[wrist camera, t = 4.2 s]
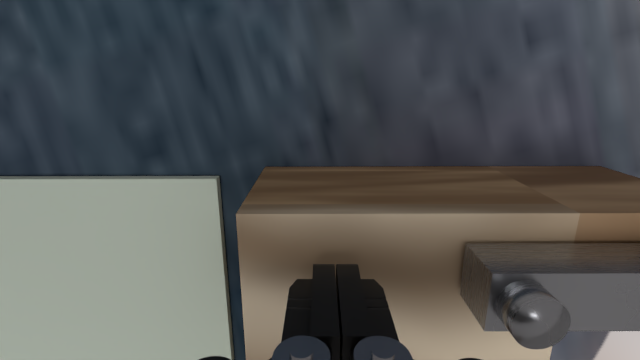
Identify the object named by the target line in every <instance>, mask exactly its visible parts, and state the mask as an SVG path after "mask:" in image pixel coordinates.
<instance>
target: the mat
mask: <svg viewBox="0 0 640 360" xmlns="http://www.w3.org/2000/svg"><path fill="white" fill-rule="evenodd" d="M209 356H222V357H226V358H229V359H230V360H234V349H233V337H232V325H231V312H230V300H229V288H228V275H227V263H226V251H225V238H224V226H223V214H222V201H221V189H220V177H219V176H0V360H199V359H201V358H204V357H209Z"/></svg>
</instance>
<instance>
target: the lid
mask: <svg viewBox="0 0 640 360" xmlns="http://www.w3.org/2000/svg"><path fill="white" fill-rule="evenodd" d="M579 216H580V213H578V212H576V211H575V210H573V209H571V208H569V207H567V206H565V205H563V204H242V205H241V207H240V208H239V210H238V211H237V213H236V223H237V238H238V252H239V266H240V280H241V295H242V309H243V323H244V337H245V352H246V360H269V359H270V358H271V357H272V355H273V352H274V350H275V348H276V347H277V346H278V345H279V344H280V343H281V340H282V333H283V326H284V320H285V313H286V306H287V300H288V293H289V288H290V286H291V285H292V284H293V283H294V282H295V281H296V279H312V277H313V264H334V265H335V278H336V264H358V267H359V272H360V277H361V279H374V280H375V281H377V282H378V283H379V284H380V285H381V286H382V287H383V289H384V293H385V296H386V301H387V302H388V306H389V309H390V312H391V316H392V319H393V322H394V326H395V329H396V332H397V335H398V339H399V342H400V343H402V344H403V345H404V346H405V347H406V348H407V349H408V350H409V352H410V354H411V356H412V358H413V359H414V360H459V359H463V358H477V359H482V360H549V359H550V355H551V350H552V346H551V347H548V348H545V349H529V348H526V347H523V346H522V345H520V344H519V343H518V342H517V341H516V340H515V339H514V337H513V336H512V335H511V333H510V332H509V331H484V330H483V329H482V327H481V326H480V324H479V323H478V321H477V320H476V318H475V317H474V315H473V314H472V312H471V310H470V309H469V307H468V306H467V304H466V303H465V301H464V300H463V298H462V297H461V295H460V287H461V279H462V270H463V262H464V254H465V245H466V244H520V243H574V240H575V235H576V230H577V226H578V221H579Z"/></svg>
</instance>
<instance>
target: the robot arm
mask: <svg viewBox="0 0 640 360" xmlns="http://www.w3.org/2000/svg"><path fill="white" fill-rule="evenodd" d="M199 360H230V359H229V358H226V357H222V356H209V357H204V358H201V359H199ZM269 360H414V359H413V358H412V356H411V354H410V352H409V350H408V349H407V348H406V347H405V346H404V345H403V344H402V343H400V342H399V339H398V335H397V332H396V329H395V326H394V322H393V319H392V316H391V312H390V309H389V306H388V302H387V301H386V296H385V293H384V289H383V287H382V286H381V285H380V284H379V283H378V282H377V281H375V280H374V279H361V277H360V272H359V267H358V264H336V278H335V265H334V264H313V277H312V279H296V281H295V282H294V283H293V284H292V285H291V286H290V288H289V293H288V300H287V306H286V313H285V320H284V326H283V333H282V340H281V343H280V344H279V345H278V346H277V347H276V348H275V350H274V352H273V355H272V357H271V358H270V359H269ZM459 360H482V359H477V358H463V359H459Z"/></svg>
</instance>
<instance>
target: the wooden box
mask: <svg viewBox="0 0 640 360" xmlns="http://www.w3.org/2000/svg"><path fill="white" fill-rule="evenodd" d="M242 204H563V205H565V206H567V207H569V208H571V209H573V210H575V211H576V212H578V213H580V216H579V221H578V226H577V230H576V235H575V240H574V243H640V178H637V177H634V176H630V175H627V174H624V173H621V172H617V171H614V170H611V169H608V168H604V167H601V166H407V167H265V168H264V170H263V171H262V173H261V174H260V176H259V178H258V179H257V181H256V182H255V184H254V186H253V187H252V189H251V191H250V192H249V194H248V195H247V197H246V199H245V200H244V202H243V203H242Z"/></svg>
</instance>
